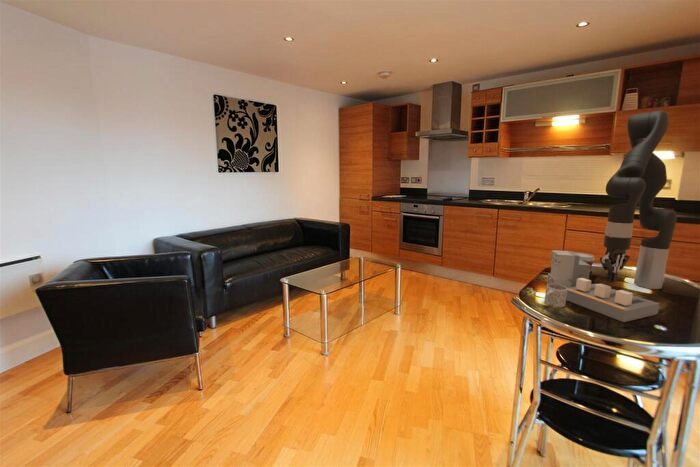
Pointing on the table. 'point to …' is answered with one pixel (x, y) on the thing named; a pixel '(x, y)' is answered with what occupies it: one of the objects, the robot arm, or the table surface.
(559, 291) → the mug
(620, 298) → the handle
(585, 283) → the handle
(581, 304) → the slider control panel
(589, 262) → the disposable coffee cup
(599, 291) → the handle
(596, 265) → the table surface
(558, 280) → the circuit breaker
